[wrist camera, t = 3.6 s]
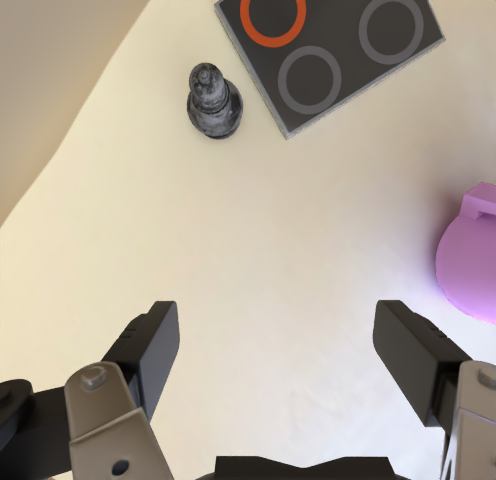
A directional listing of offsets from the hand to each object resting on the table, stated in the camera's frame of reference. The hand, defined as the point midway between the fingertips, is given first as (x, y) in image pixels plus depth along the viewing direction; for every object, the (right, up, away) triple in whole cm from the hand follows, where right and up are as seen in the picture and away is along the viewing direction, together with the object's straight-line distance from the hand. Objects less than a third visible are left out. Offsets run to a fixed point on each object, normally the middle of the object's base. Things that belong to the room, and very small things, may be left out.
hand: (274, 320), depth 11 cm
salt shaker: (-5, +18, +22) cm, 29 cm away
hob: (+8, +27, +20) cm, 35 cm away
